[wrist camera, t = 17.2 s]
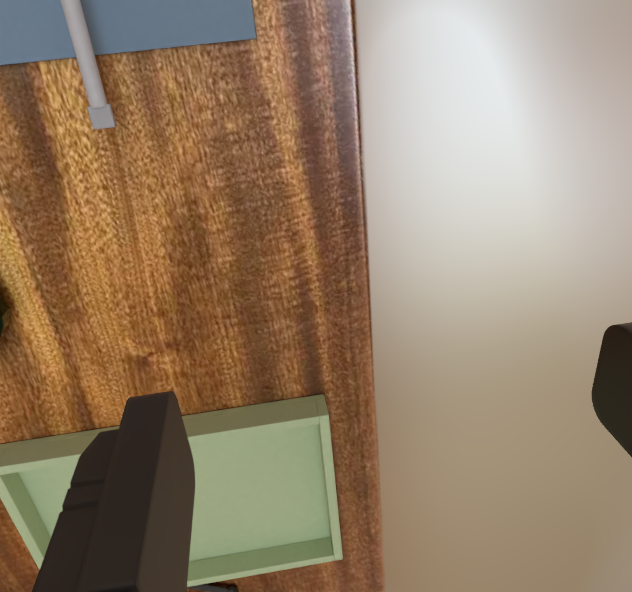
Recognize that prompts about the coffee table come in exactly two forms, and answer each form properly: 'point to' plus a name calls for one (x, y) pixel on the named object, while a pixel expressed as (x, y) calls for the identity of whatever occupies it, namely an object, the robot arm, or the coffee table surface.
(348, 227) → the coffee table surface
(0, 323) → the clover-shaped pad
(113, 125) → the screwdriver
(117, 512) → the robot arm
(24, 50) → the mat
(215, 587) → the tomahawk
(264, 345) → the coffee table surface
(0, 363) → the coffee table surface
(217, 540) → the tray
